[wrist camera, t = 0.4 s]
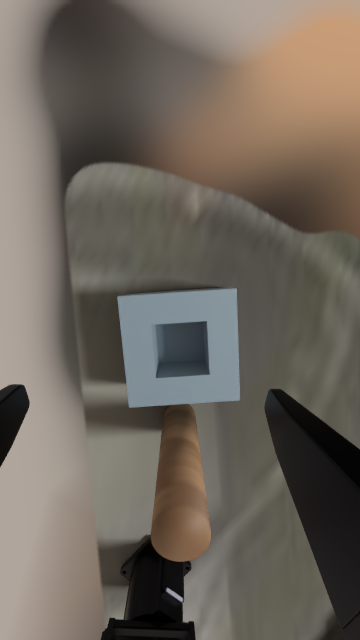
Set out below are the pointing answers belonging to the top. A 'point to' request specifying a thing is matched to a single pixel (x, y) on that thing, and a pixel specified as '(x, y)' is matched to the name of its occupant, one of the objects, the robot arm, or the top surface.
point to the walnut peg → (180, 490)
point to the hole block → (180, 346)
